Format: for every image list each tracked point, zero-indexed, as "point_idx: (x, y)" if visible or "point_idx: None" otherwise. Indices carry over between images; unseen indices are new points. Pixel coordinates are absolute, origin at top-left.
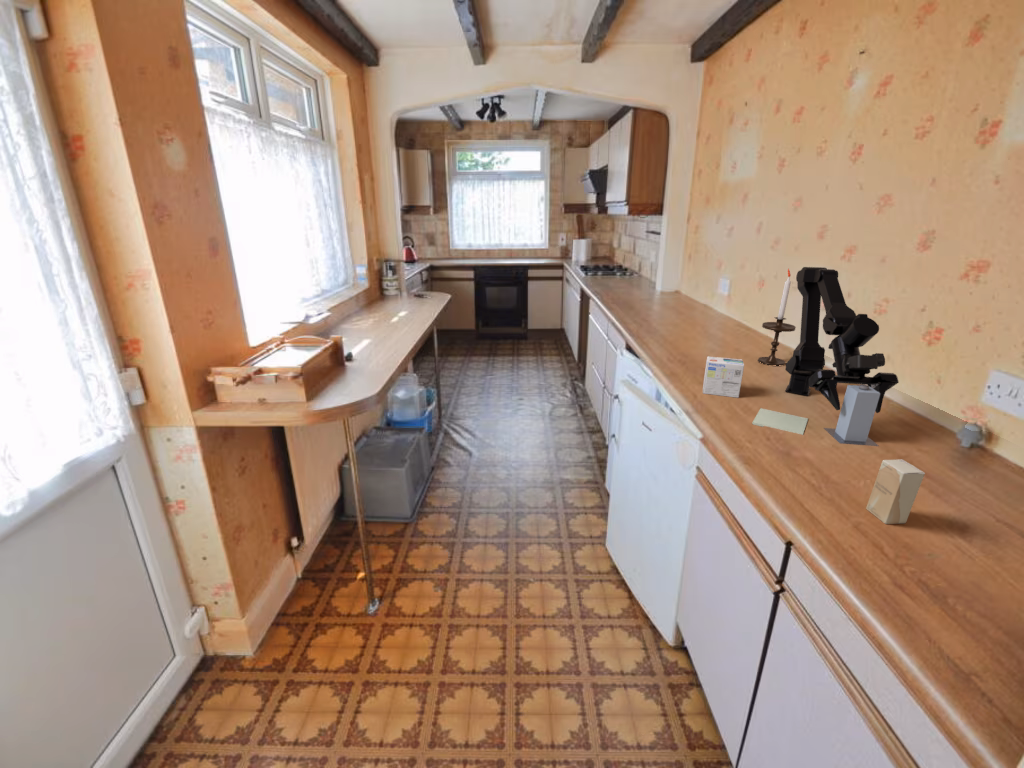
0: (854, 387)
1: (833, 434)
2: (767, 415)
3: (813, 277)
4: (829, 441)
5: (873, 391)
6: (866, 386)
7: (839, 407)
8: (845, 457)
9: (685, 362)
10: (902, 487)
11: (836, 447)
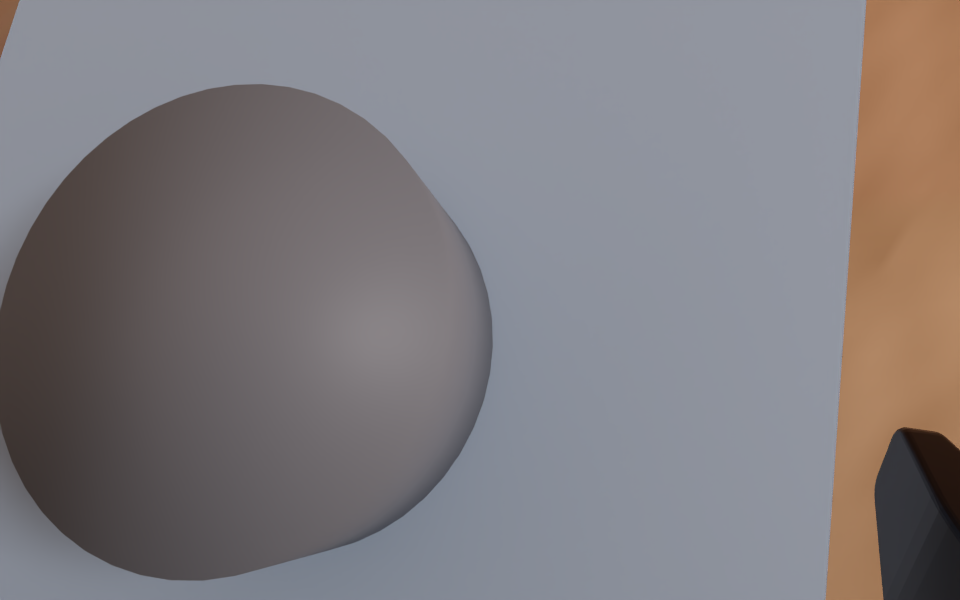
0: (613, 595)
1: None
2: None
3: None
4: (859, 353)
5: (122, 84)
6: (159, 234)
7: (927, 438)
8: (886, 15)
9: None
10: None
11: (858, 214)
